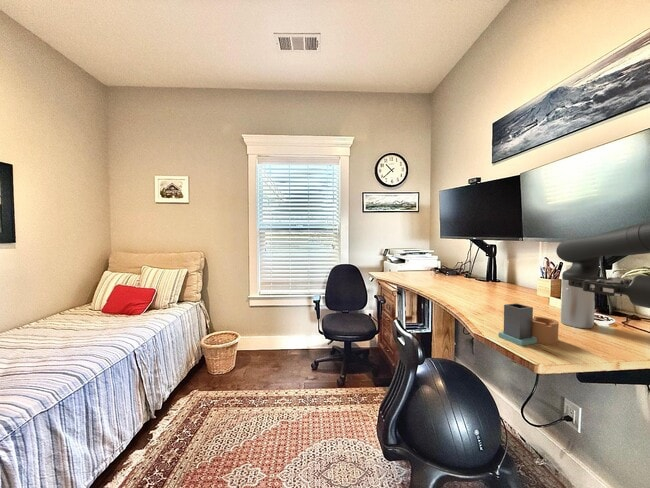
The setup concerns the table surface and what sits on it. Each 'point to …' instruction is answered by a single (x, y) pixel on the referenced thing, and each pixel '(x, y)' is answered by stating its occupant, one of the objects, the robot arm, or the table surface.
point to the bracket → (545, 330)
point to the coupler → (518, 321)
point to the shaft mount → (517, 341)
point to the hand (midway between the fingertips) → (579, 280)
